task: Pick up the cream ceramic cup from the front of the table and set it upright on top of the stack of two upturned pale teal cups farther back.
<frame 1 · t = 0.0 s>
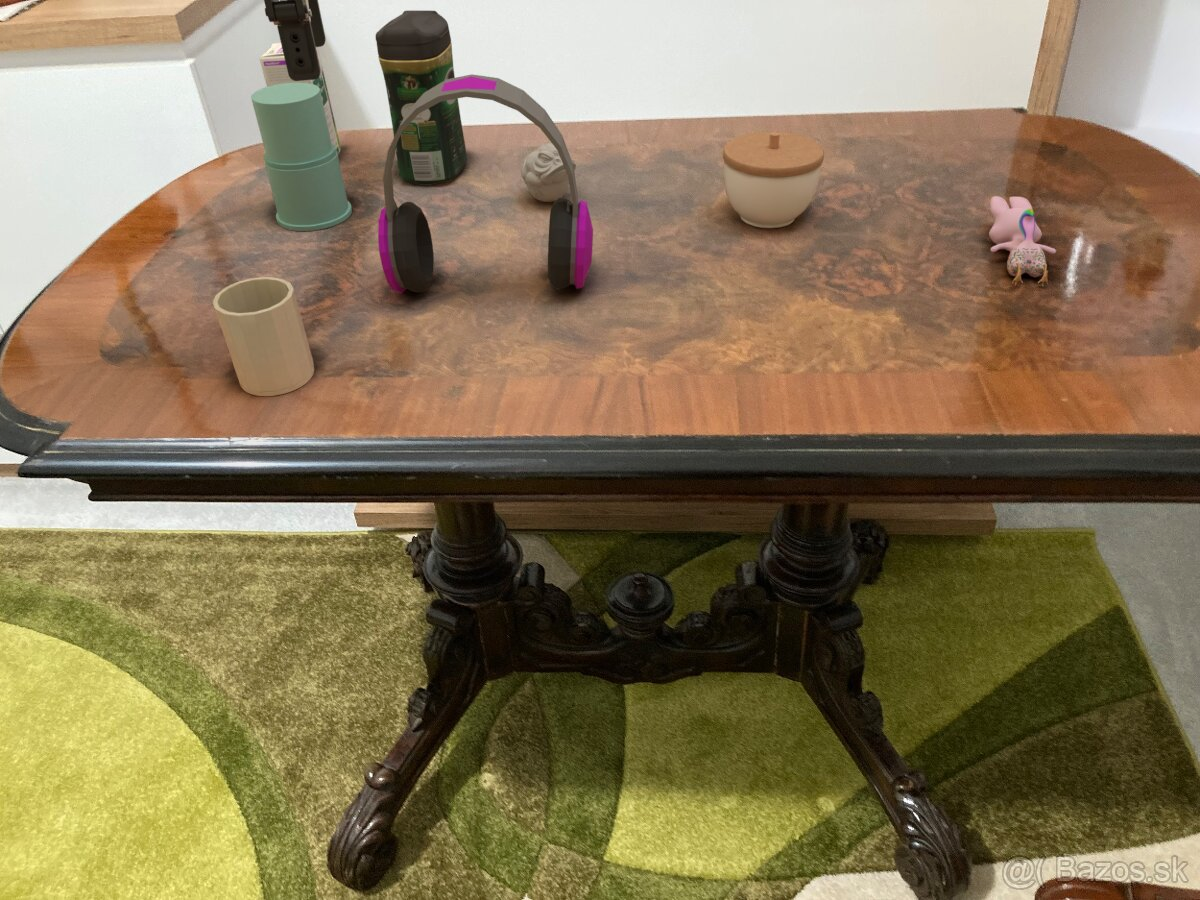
hand: (309, 61, 69), 25 cm above the table, tool pointing down, fingers open, 8 cm apart
cup stack: (314, 215, 107), on the table
syrup box: (316, 165, 120), on the table
coffee jar: (433, 174, 117), on the table
rabbit figure: (1012, 254, 95), on the table
frog figurine: (550, 202, 109), on the table
headphones: (492, 287, 93), on the table
lidded sugar bowl: (767, 218, 104), on the table
cream cup: (277, 375, 81), on the table
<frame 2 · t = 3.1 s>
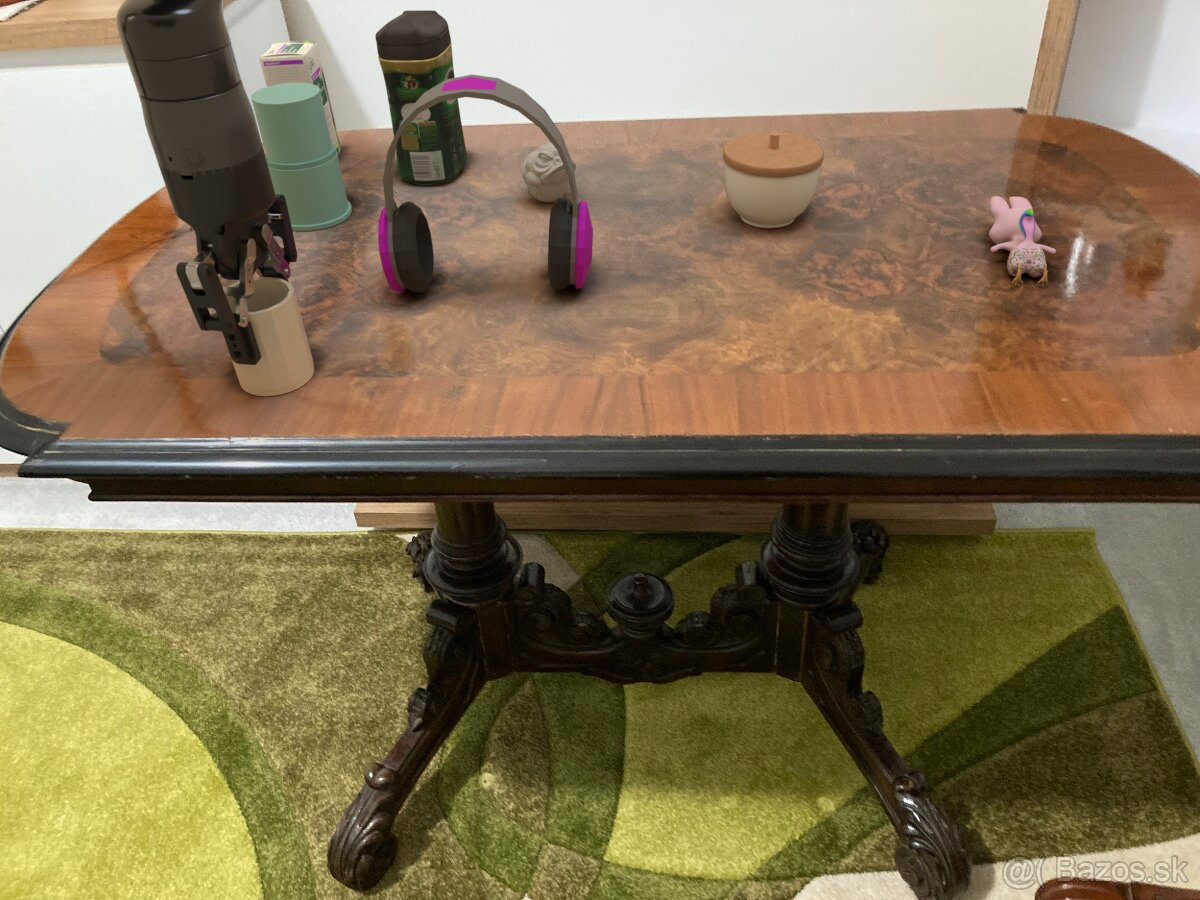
hand: (266, 339, 79), 4 cm above the table, tool pointing down, fingers closed on cream cup, 6 cm apart
cream cup: (277, 375, 81), on the table, touching gripper
everything else where it was.
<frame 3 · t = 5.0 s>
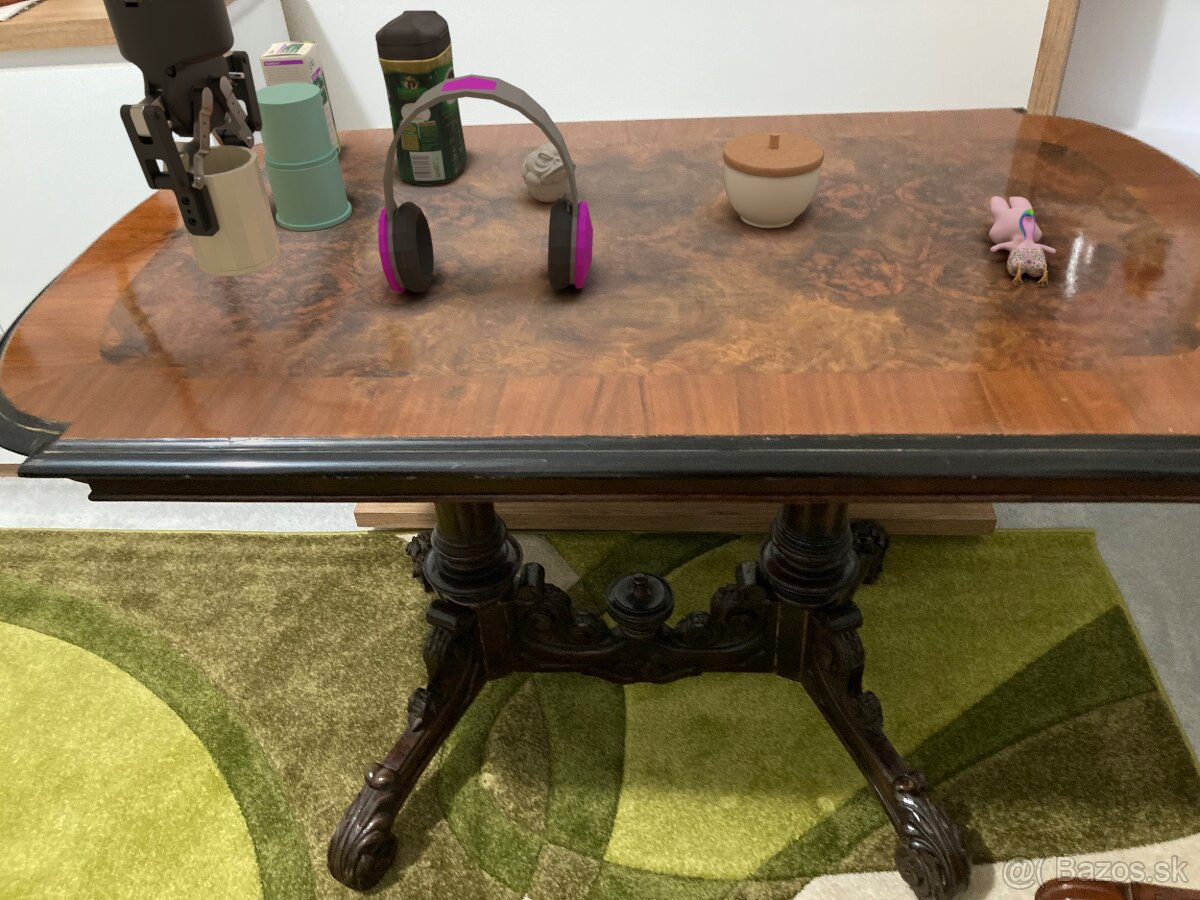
hand: (227, 213, 72), 15 cm above the table, tool pointing down, fingers closed on cream cup, 6 cm apart
cream cup: (239, 257, 74), point 11 cm above the table, touching gripper
everything else where it was.
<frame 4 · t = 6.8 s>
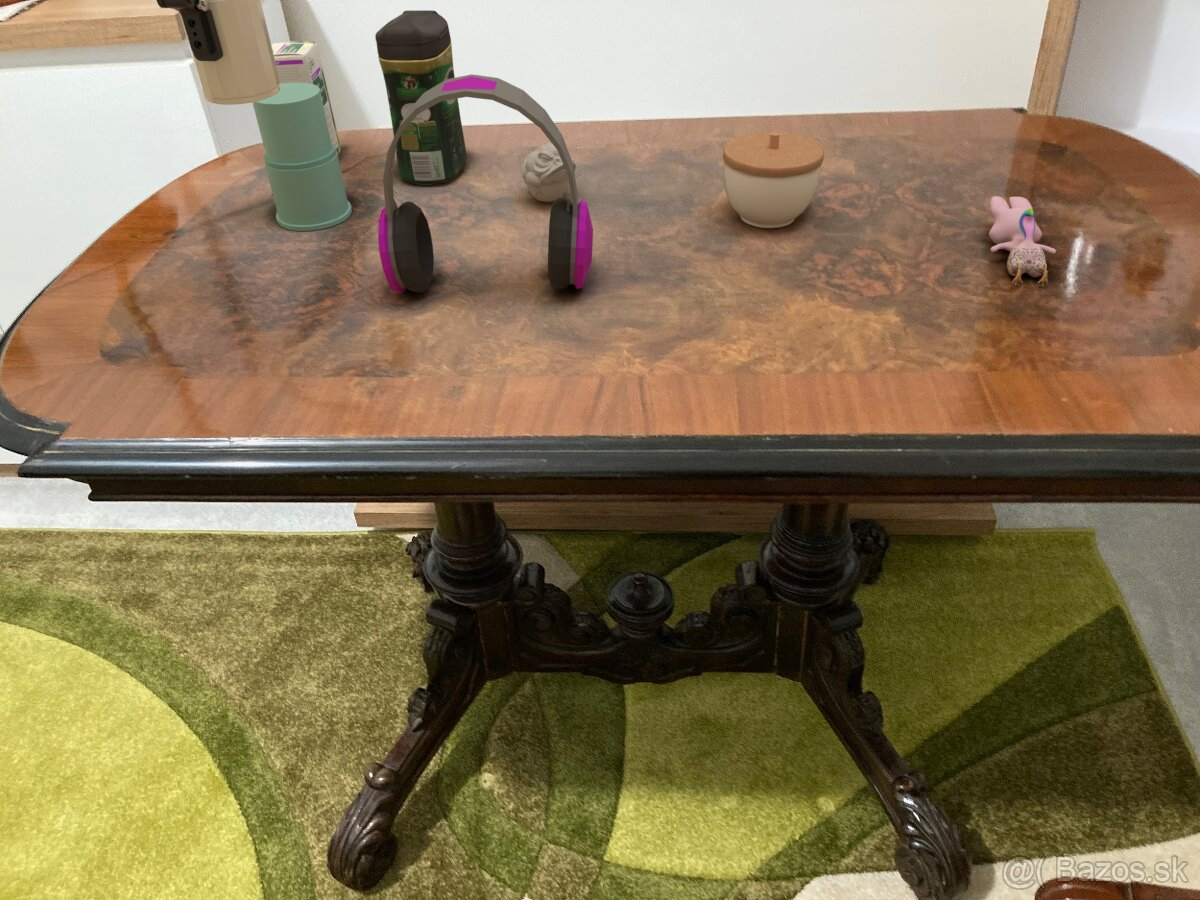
hand: (230, 46, 78), 24 cm above the table, tool pointing down, fingers closed on cream cup, 6 cm apart
cream cup: (243, 92, 80), point 20 cm above the table, touching gripper
everything else where it was.
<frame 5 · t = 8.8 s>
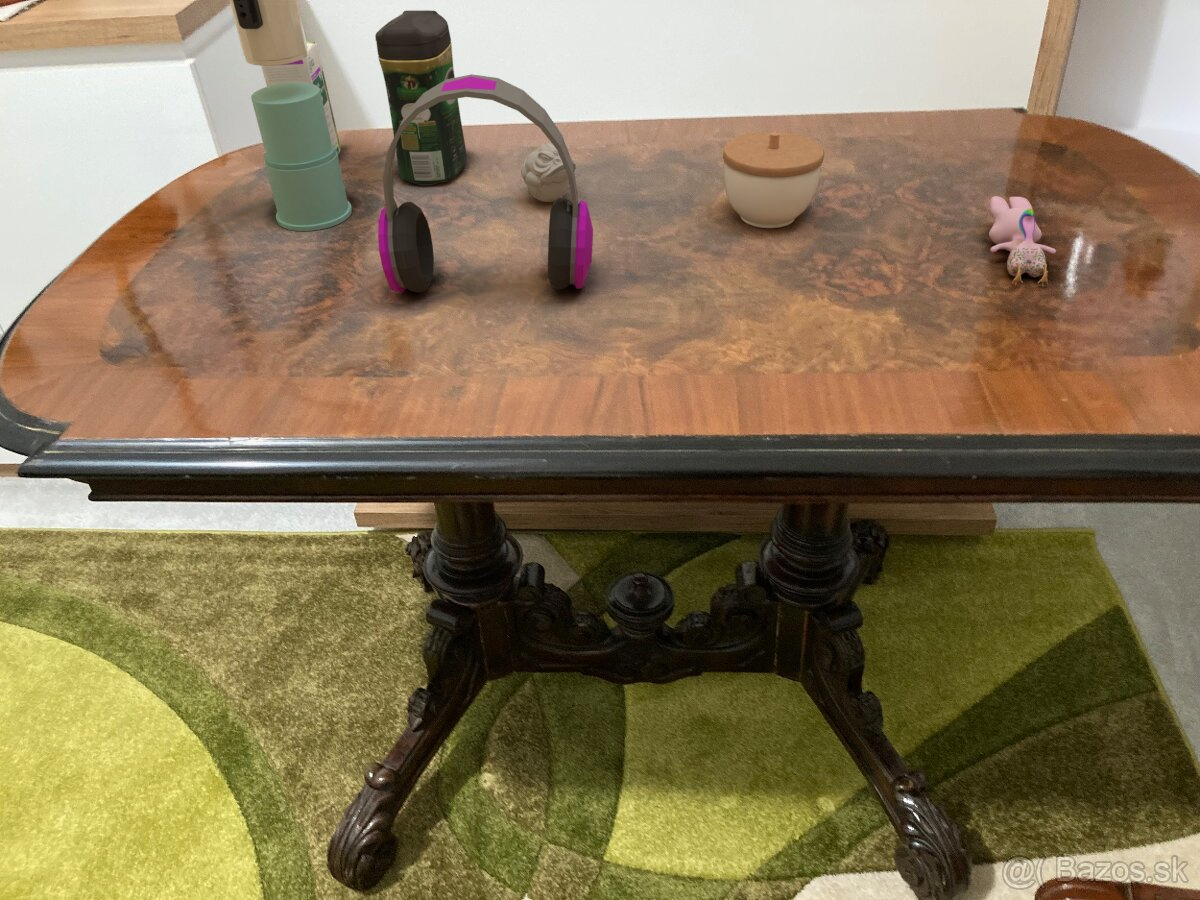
hand: (267, 18, 94), 21 cm above the table, tool pointing down, fingers closed on cream cup, 6 cm apart
cream cup: (277, 56, 96), point 18 cm above the table, touching gripper
everything else where it was.
when the fingers open (18 cm above the table, at t = 10.5 s): cream cup stays where it is, resting on cup stack.
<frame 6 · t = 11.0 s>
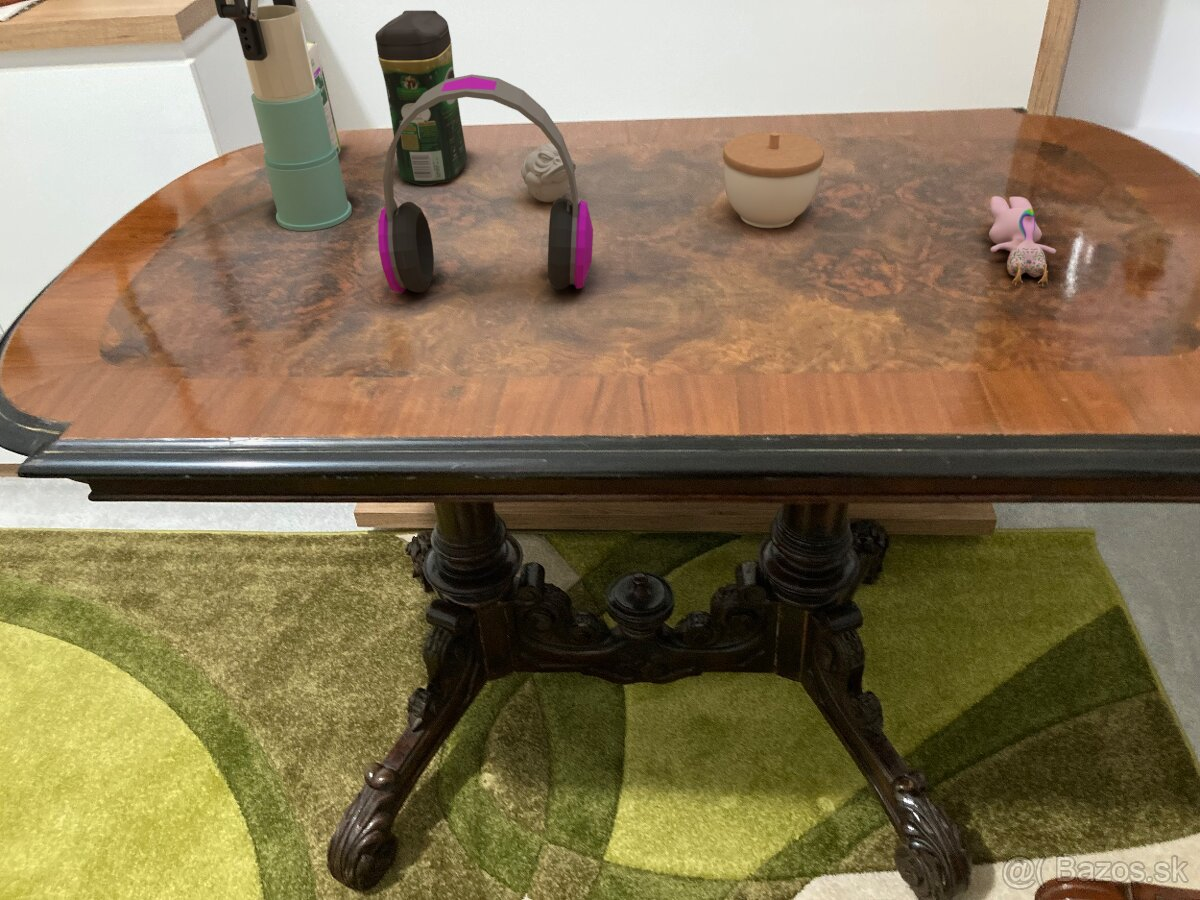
hand: (274, 47, 96), 19 cm above the table, tool pointing down, fingers open, 8 cm apart
cream cup: (285, 92, 99), point 14 cm above the table, touching cup stack
everything else where it was.
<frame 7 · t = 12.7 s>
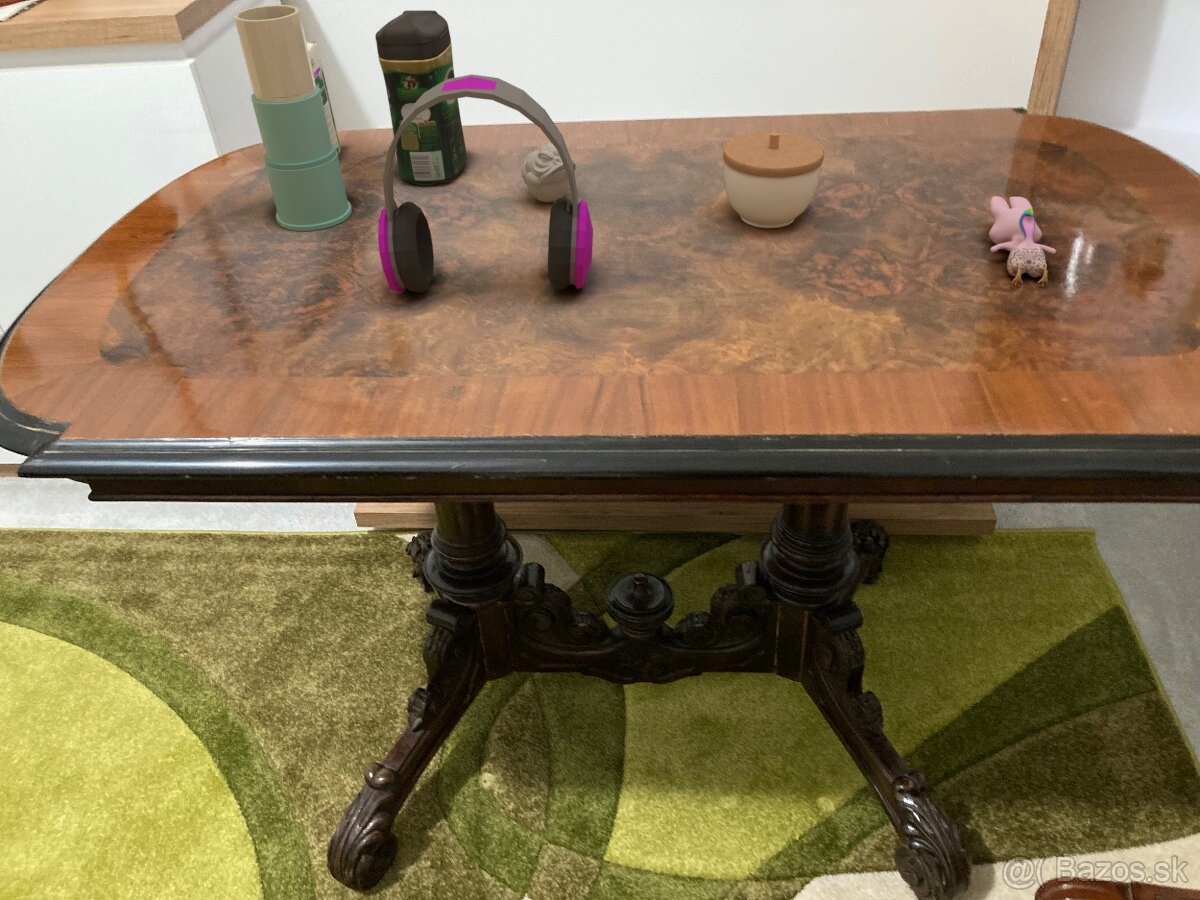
nothing on the table moved.
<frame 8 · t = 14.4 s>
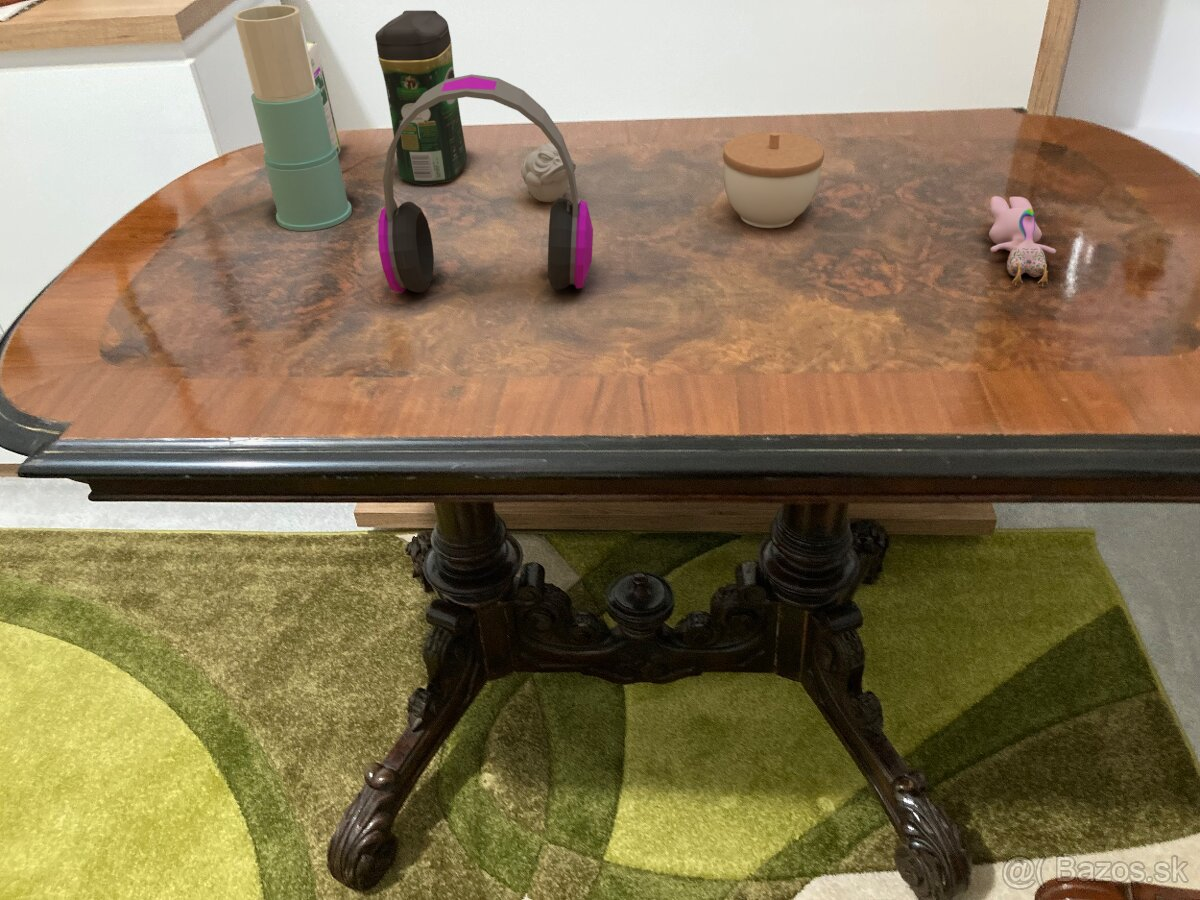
nothing on the table moved.
at the end: cream cup 0.0 cm off-centre on the cup stack, point 14.0 cm above the cup stack's base; cream cup tilted 0°; the gripper is holding nothing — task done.
